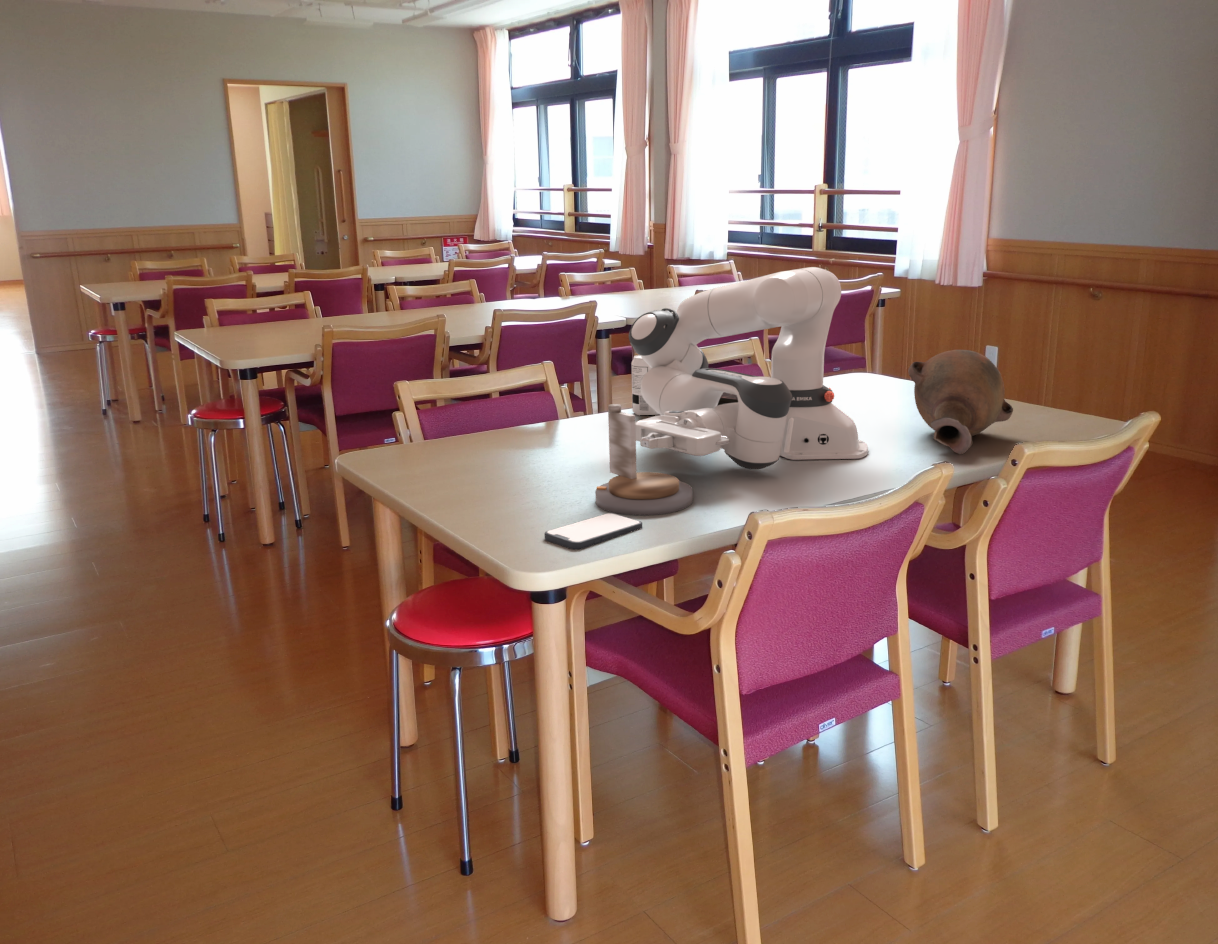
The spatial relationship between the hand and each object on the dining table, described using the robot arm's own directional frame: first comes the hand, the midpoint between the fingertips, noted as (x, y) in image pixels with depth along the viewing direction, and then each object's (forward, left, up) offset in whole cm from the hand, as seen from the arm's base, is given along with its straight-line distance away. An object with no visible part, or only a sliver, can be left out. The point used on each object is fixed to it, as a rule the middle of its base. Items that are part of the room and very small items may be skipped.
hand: (645, 443), depth 190 cm
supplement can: (+13, -69, -9) cm, 71 cm away
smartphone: (+3, +28, -9) cm, 30 cm away
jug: (-61, -46, -9) cm, 77 cm away
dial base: (-1, +8, -9) cm, 12 cm away
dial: (0, +8, -7) cm, 10 cm away
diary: (-14, -77, -9) cm, 79 cm away
